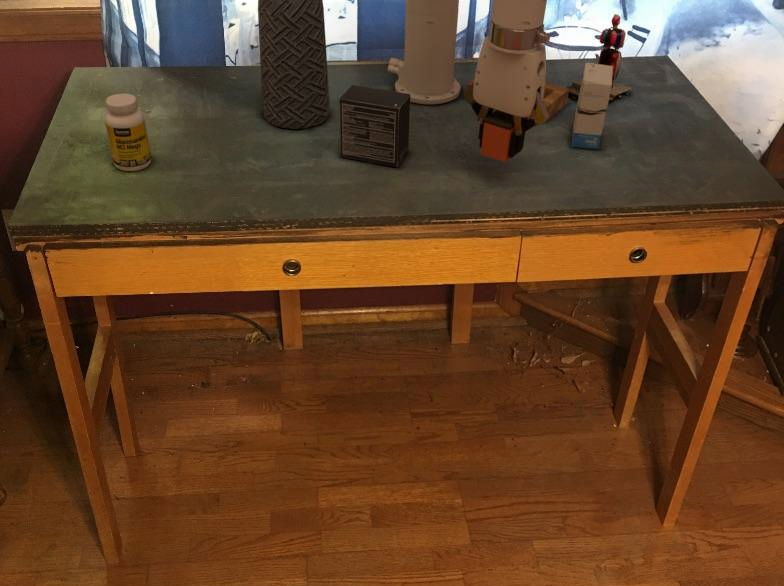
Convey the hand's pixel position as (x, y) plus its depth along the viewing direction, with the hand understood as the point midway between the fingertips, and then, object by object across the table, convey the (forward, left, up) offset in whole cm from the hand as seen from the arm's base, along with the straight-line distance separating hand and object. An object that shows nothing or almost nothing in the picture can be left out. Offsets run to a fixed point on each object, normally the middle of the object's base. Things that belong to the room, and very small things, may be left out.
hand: (499, 148), depth 136 cm
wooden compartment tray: (-12, +30, -6) cm, 32 cm away
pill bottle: (-53, -29, -6) cm, 61 cm away
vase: (-42, +1, -6) cm, 42 cm away
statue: (-1, +42, -6) cm, 42 cm away
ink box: (+5, +24, -6) cm, 25 cm away
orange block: (0, 0, -1) cm, 1 cm away
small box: (-22, -3, -6) cm, 23 cm away
